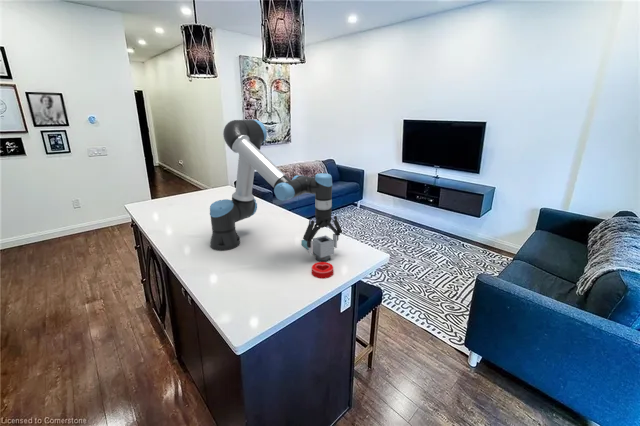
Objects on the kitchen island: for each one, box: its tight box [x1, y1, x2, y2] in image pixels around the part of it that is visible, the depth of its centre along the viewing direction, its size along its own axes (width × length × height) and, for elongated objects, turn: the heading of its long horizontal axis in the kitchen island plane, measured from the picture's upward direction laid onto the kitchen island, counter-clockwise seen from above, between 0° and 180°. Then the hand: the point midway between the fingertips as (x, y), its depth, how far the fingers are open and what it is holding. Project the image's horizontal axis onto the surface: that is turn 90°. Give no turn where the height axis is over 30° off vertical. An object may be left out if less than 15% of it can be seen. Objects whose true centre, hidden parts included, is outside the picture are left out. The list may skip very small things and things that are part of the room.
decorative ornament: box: [311, 261, 334, 279], centre depth 129 cm, size 10×10×3 cm
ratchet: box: [300, 239, 331, 263], centre depth 147 cm, size 22×7×8 cm, turn 31°
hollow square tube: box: [312, 235, 335, 258], centre depth 140 cm, size 7×7×7 cm
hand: (323, 250), depth 141 cm, fingers open, 13 cm apart
